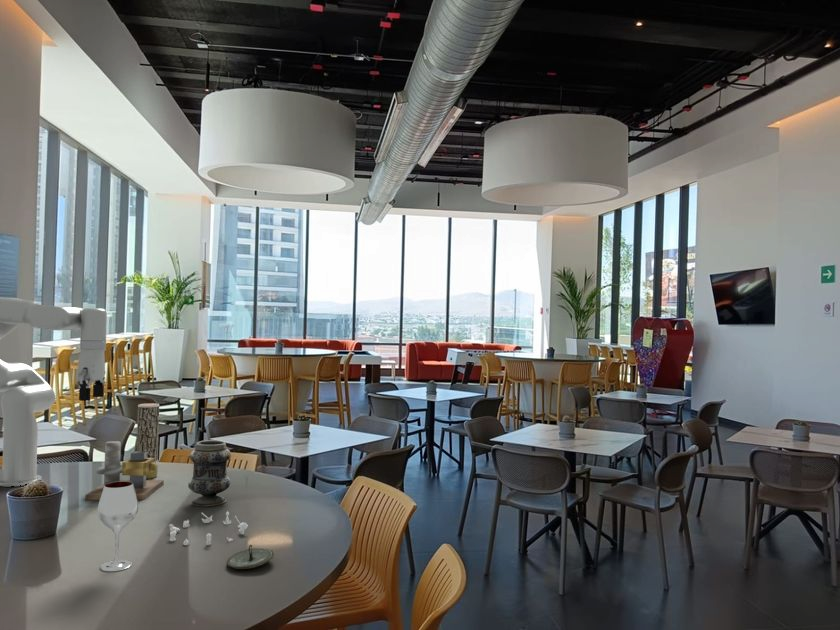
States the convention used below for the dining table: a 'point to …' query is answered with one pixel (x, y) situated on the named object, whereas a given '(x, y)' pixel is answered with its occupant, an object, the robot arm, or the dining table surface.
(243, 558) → the lid
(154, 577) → the dining table surface
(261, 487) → the dining table surface
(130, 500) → the wineglass
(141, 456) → the grey rectangular bar
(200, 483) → the apothecary jar
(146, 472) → the board
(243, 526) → the game piece set
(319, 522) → the dining table surface
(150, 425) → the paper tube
